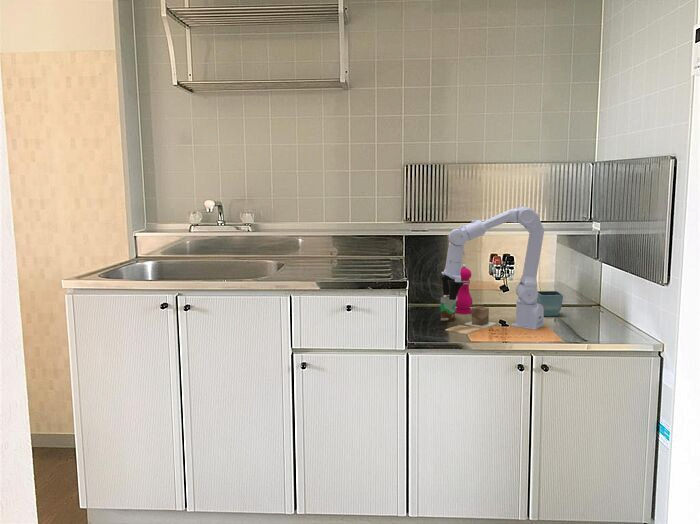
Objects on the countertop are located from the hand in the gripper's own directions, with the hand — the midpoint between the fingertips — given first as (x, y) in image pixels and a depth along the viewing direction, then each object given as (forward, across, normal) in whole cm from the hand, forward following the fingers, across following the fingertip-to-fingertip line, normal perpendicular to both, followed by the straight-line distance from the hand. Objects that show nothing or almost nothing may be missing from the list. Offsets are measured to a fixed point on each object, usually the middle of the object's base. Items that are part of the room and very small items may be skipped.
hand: (449, 297), depth 236 cm
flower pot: (+6, -7, +44) cm, 45 cm away
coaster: (+10, +9, +4) cm, 14 cm away
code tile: (+9, +1, +13) cm, 16 cm away
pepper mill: (+10, -18, +13) cm, 24 cm away
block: (+9, +1, +13) cm, 16 cm away
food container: (+11, -8, +4) cm, 14 cm away
